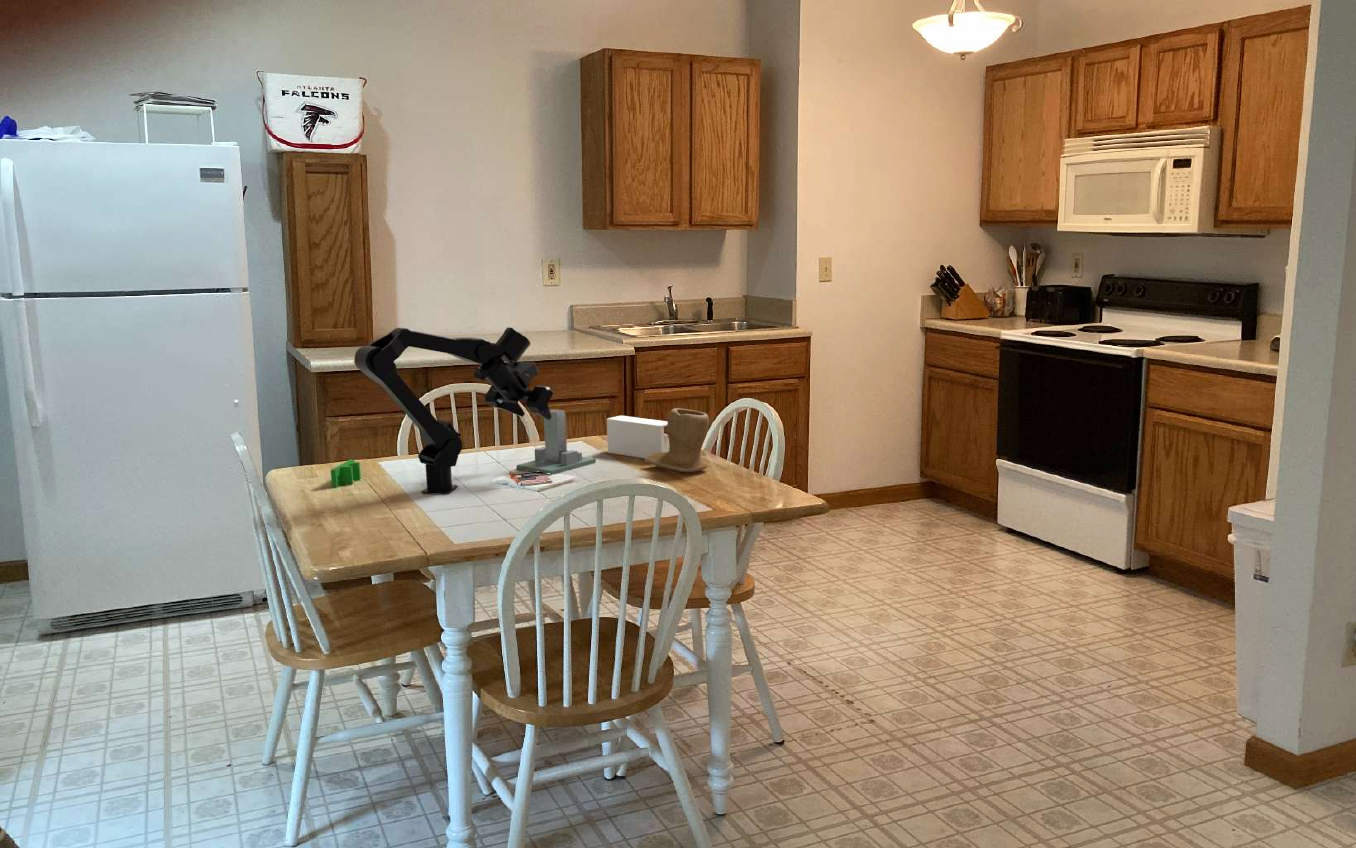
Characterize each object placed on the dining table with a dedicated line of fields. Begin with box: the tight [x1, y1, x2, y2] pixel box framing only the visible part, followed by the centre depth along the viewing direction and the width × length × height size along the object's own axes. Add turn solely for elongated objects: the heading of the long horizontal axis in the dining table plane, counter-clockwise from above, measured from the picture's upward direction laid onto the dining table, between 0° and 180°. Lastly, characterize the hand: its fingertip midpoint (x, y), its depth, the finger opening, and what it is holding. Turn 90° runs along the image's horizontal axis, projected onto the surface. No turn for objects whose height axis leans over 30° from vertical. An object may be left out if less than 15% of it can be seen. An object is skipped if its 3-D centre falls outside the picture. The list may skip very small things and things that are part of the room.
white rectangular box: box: [606, 415, 669, 460], centre depth 284 cm, size 20×6×9 cm, turn 50°
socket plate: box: [516, 446, 597, 475], centre depth 274 cm, size 16×12×4 cm
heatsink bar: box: [543, 408, 568, 464], centre depth 273 cm, size 3×5×13 cm
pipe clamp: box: [330, 459, 362, 489], centre depth 261 cm, size 11×4×5 cm, turn 173°
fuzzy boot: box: [643, 407, 710, 473], centre depth 266 cm, size 15×12×15 cm
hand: (536, 416), depth 268 cm, fingers open, 9 cm apart
